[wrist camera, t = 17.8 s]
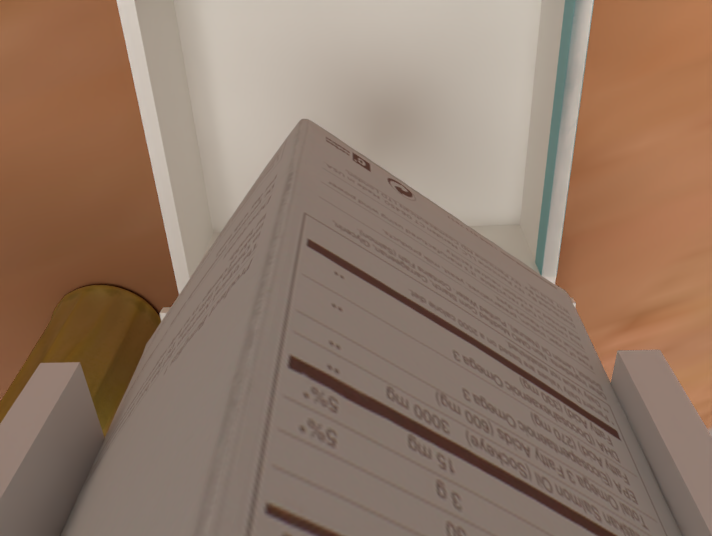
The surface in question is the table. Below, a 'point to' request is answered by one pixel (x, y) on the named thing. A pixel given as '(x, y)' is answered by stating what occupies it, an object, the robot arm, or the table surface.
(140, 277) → the table surface
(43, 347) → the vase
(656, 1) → the table surface
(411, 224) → the supplement box
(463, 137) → the box
